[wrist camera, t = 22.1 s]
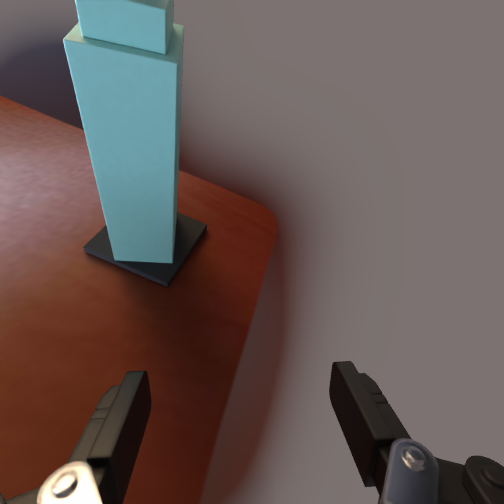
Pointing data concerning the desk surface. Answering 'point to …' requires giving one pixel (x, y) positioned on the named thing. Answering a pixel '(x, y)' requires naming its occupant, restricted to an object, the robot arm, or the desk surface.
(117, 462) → the robot arm
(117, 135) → the soap bottle
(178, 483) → the desk surface
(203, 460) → the desk surface
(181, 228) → the mat
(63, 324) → the desk surface
